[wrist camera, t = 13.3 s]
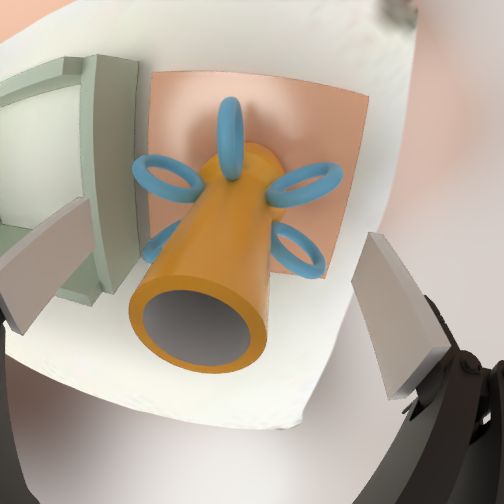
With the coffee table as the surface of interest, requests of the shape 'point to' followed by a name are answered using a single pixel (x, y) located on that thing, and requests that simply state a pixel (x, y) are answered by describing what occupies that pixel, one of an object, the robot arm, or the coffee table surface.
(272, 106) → the terracotta tile
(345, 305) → the coffee table surface
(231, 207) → the orange tube
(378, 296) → the robot arm
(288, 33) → the coffee table surface
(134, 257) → the box
